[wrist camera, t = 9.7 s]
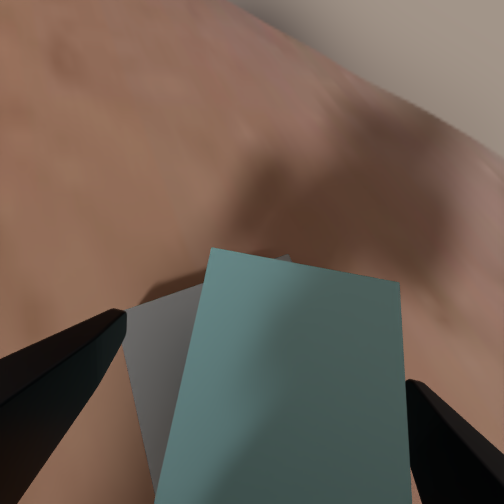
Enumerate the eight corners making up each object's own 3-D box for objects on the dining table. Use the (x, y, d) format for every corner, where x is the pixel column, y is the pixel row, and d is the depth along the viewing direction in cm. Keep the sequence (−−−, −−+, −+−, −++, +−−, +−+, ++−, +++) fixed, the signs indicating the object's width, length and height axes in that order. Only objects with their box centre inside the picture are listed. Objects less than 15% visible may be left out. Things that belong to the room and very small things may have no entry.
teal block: (194, 420, 14) (106, 717, 3) (215, 313, 16) (211, 247, 5) (264, 430, 14) (426, 737, 3) (276, 323, 17) (399, 282, 5)
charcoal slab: (177, 510, 15) (166, 548, 12) (131, 317, 19) (115, 313, 16) (346, 420, 18) (369, 434, 15) (279, 265, 21) (288, 253, 18)
